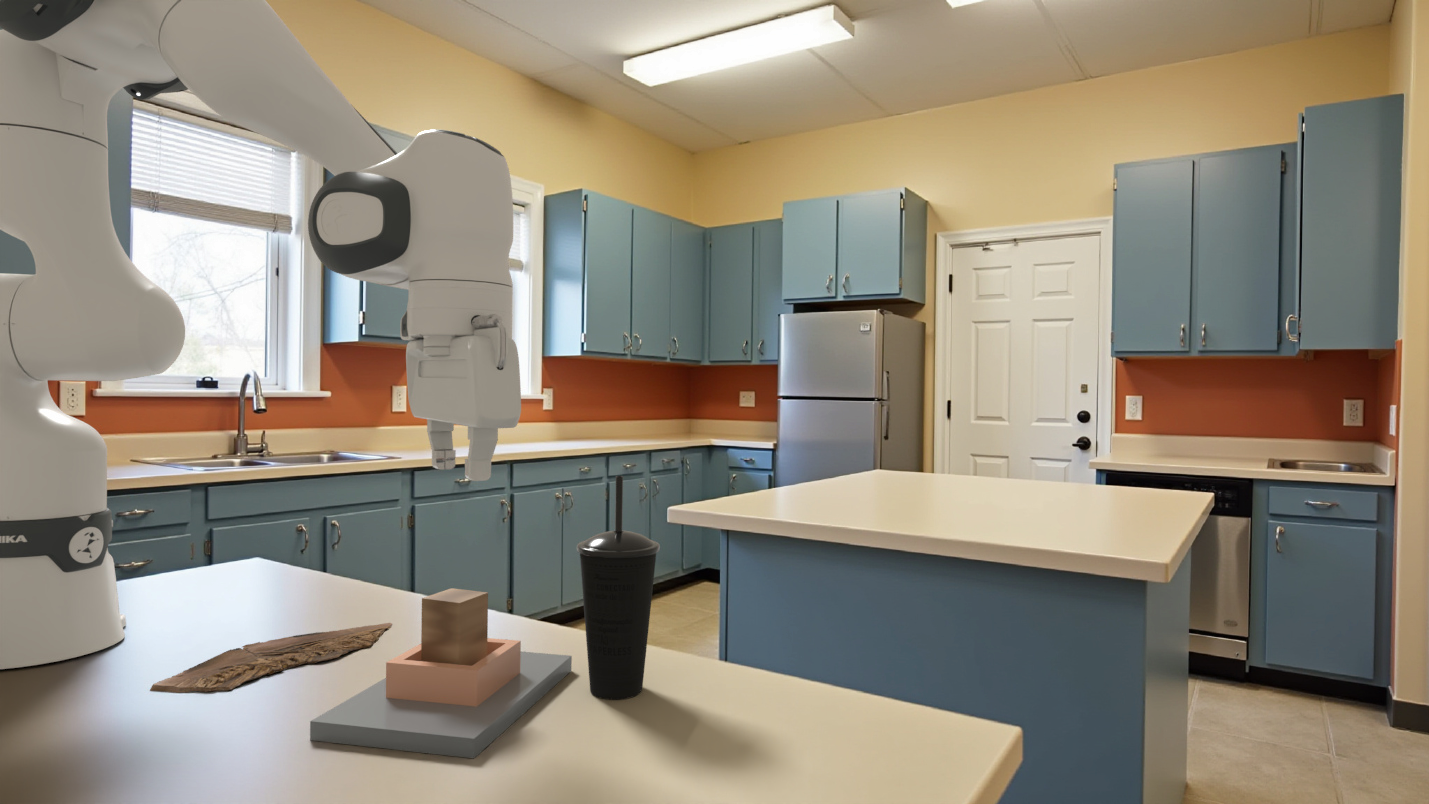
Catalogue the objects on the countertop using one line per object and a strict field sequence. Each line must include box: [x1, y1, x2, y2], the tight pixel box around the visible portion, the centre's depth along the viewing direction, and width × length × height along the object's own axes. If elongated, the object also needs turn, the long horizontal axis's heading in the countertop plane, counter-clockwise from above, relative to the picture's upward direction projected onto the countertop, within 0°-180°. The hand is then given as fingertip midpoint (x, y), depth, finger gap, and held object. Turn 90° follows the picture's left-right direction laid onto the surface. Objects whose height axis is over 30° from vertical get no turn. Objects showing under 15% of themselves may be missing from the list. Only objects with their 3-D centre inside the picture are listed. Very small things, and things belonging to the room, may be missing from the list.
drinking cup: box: [576, 475, 661, 700], centre depth 76 cm, size 8×8×20 cm
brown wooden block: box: [420, 587, 489, 666], centre depth 73 cm, size 4×4×8 cm
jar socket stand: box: [309, 637, 573, 759], centre depth 73 cm, size 14×20×4 cm
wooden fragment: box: [149, 622, 393, 694], centre depth 85 cm, size 26×11×1 cm, turn 148°
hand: (459, 474), depth 73 cm, fingers open, 8 cm apart
